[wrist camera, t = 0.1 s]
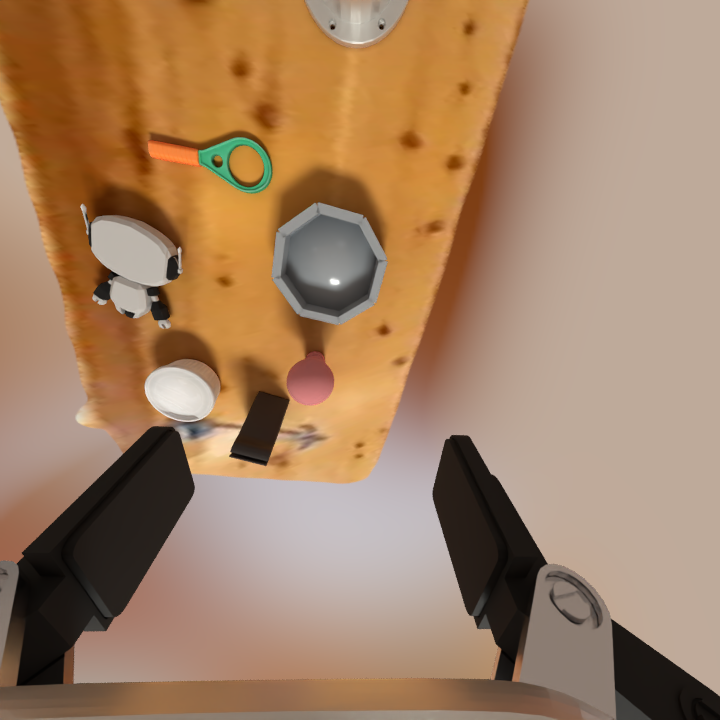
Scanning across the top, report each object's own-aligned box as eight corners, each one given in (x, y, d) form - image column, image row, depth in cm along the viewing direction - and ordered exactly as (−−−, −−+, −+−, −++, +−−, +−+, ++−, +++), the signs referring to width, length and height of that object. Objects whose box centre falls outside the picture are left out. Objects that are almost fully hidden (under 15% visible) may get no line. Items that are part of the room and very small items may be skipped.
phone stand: (278, 433, 56) (260, 482, 46) (249, 425, 55) (224, 473, 44) (290, 399, 53) (274, 443, 42) (259, 390, 52) (235, 432, 41)
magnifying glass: (273, 145, 36) (270, 141, 34) (273, 197, 38) (269, 196, 37) (152, 122, 34) (143, 117, 33) (160, 178, 37) (152, 175, 36)
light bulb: (339, 343, 48) (336, 377, 37) (333, 378, 51) (328, 418, 40) (299, 336, 47) (283, 368, 36) (295, 372, 50) (279, 411, 39)
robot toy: (182, 325, 47) (196, 240, 40) (166, 336, 43) (178, 244, 36) (104, 295, 44) (105, 199, 38) (79, 304, 40) (75, 198, 34)
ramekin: (167, 401, 52) (149, 418, 48) (159, 348, 48) (137, 362, 43) (227, 408, 53) (215, 426, 49) (225, 358, 49) (211, 372, 44)
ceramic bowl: (260, 247, 41) (250, 248, 37) (347, 185, 38) (346, 180, 34) (318, 330, 47) (315, 339, 43) (397, 282, 44) (402, 288, 39)
